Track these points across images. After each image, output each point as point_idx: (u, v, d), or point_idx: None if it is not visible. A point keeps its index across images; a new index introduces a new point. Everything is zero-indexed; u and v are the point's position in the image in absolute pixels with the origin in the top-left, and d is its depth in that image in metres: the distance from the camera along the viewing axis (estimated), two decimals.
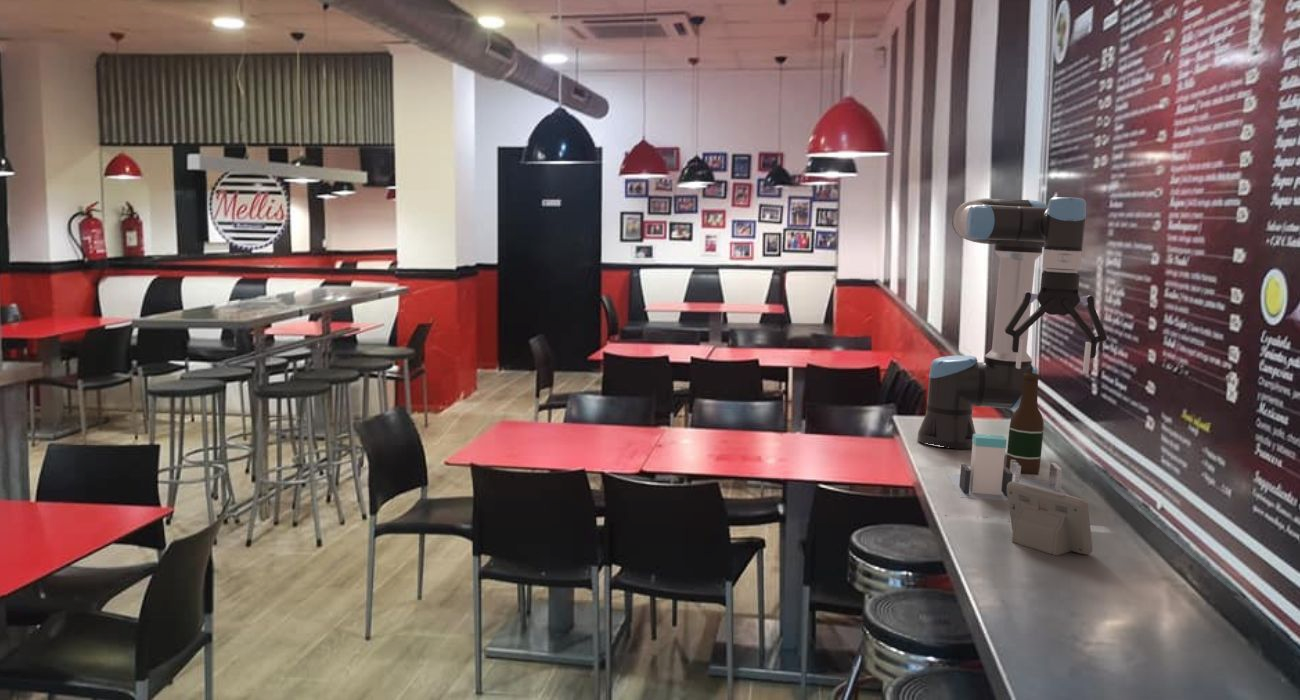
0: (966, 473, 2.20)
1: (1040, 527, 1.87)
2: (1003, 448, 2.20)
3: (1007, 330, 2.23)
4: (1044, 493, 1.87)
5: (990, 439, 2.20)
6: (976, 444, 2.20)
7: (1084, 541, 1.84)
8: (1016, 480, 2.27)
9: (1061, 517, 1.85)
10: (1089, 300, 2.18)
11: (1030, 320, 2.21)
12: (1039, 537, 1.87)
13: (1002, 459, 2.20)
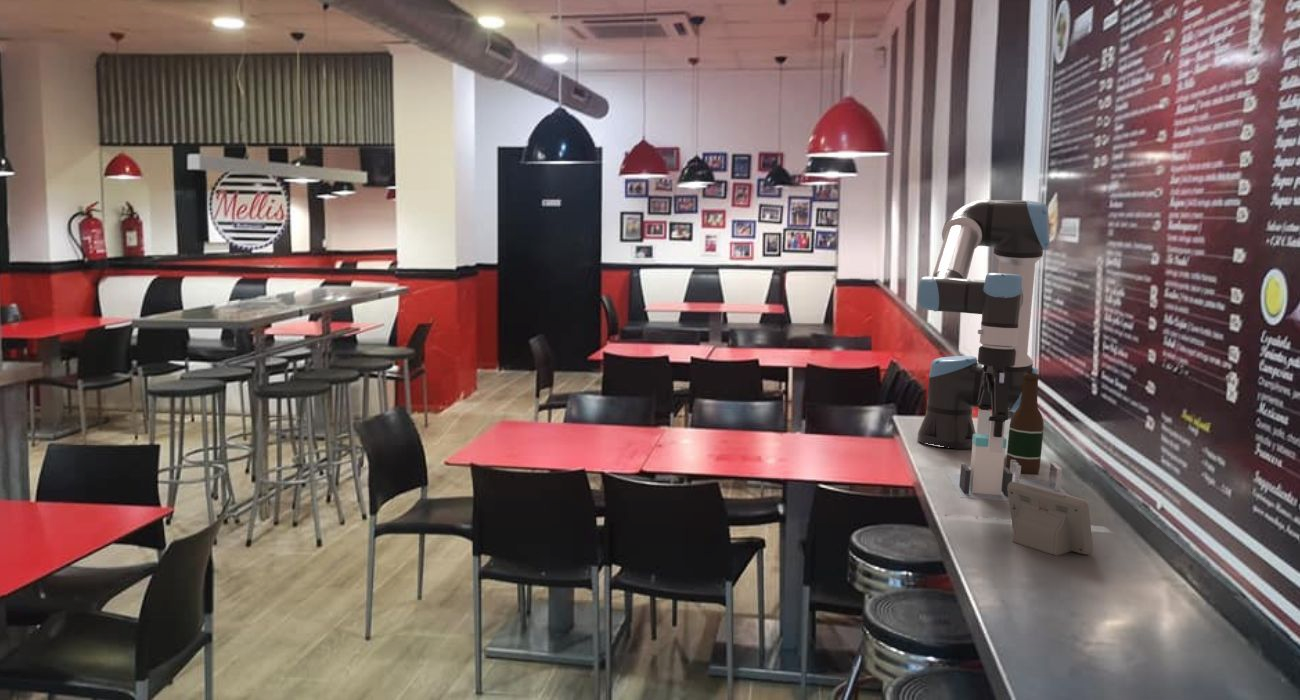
0: (966, 473, 2.20)
1: (1041, 527, 1.86)
2: (1003, 448, 2.20)
3: (977, 400, 2.31)
4: (1045, 493, 1.87)
5: None
6: (976, 444, 2.20)
7: (1085, 542, 1.84)
8: (1016, 480, 2.27)
9: (1062, 517, 1.85)
10: (994, 377, 2.14)
11: (982, 392, 2.26)
12: (1040, 537, 1.87)
13: (1002, 459, 2.20)
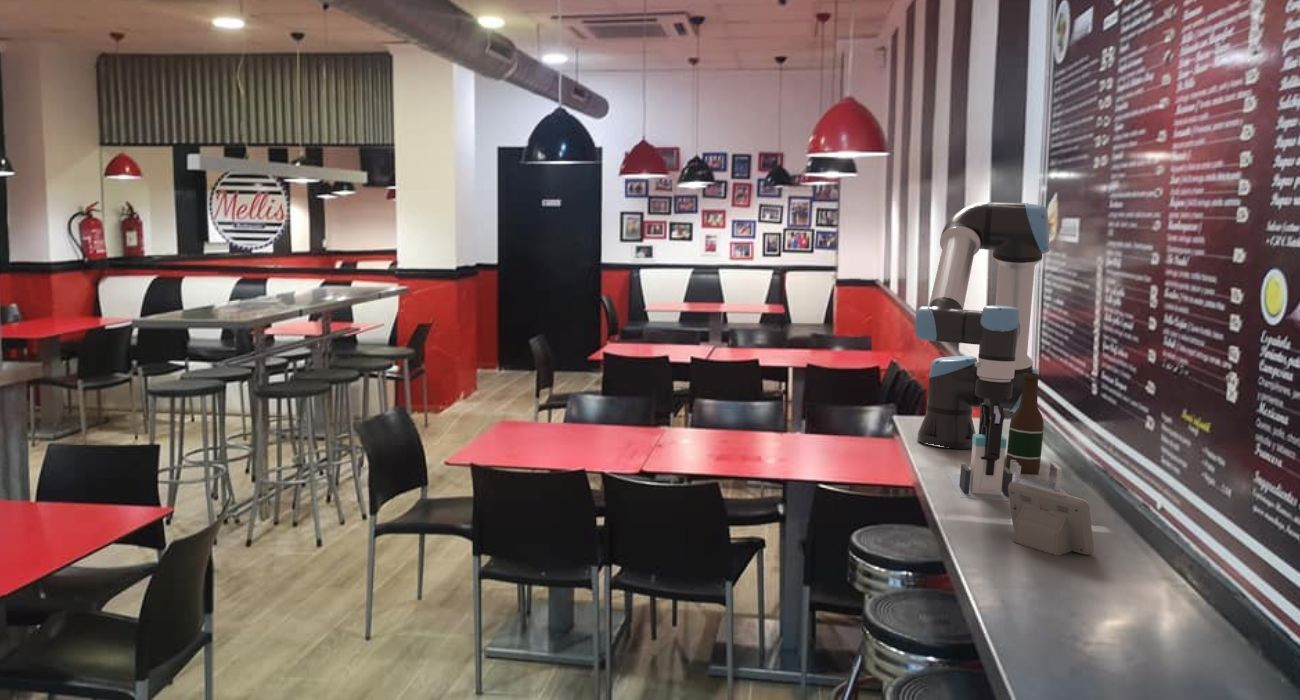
0: (966, 473, 2.20)
1: (1041, 527, 1.86)
2: (1003, 448, 2.20)
3: None
4: (1045, 493, 1.87)
5: None
6: (976, 444, 2.20)
7: (1085, 542, 1.84)
8: (1016, 480, 2.27)
9: (1062, 517, 1.85)
10: (990, 416, 2.16)
11: (981, 432, 2.25)
12: (1040, 537, 1.87)
13: (1002, 459, 2.20)
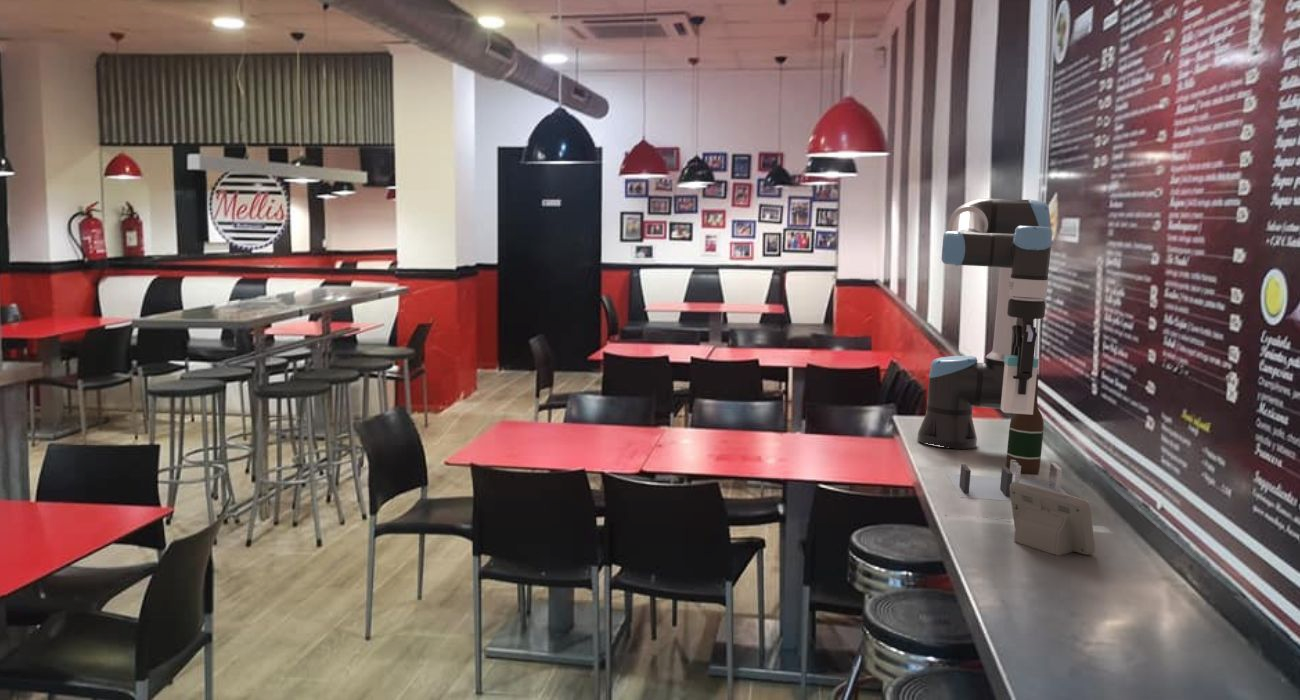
0: (966, 473, 2.20)
1: (1042, 527, 1.86)
2: (1035, 368, 2.21)
3: None
4: (1046, 493, 1.87)
5: None
6: (1008, 364, 2.22)
7: (1087, 542, 1.84)
8: (1016, 480, 2.27)
9: (1063, 517, 1.85)
10: (1023, 335, 2.17)
11: (1013, 353, 2.26)
12: (1041, 537, 1.87)
13: (1034, 379, 2.21)
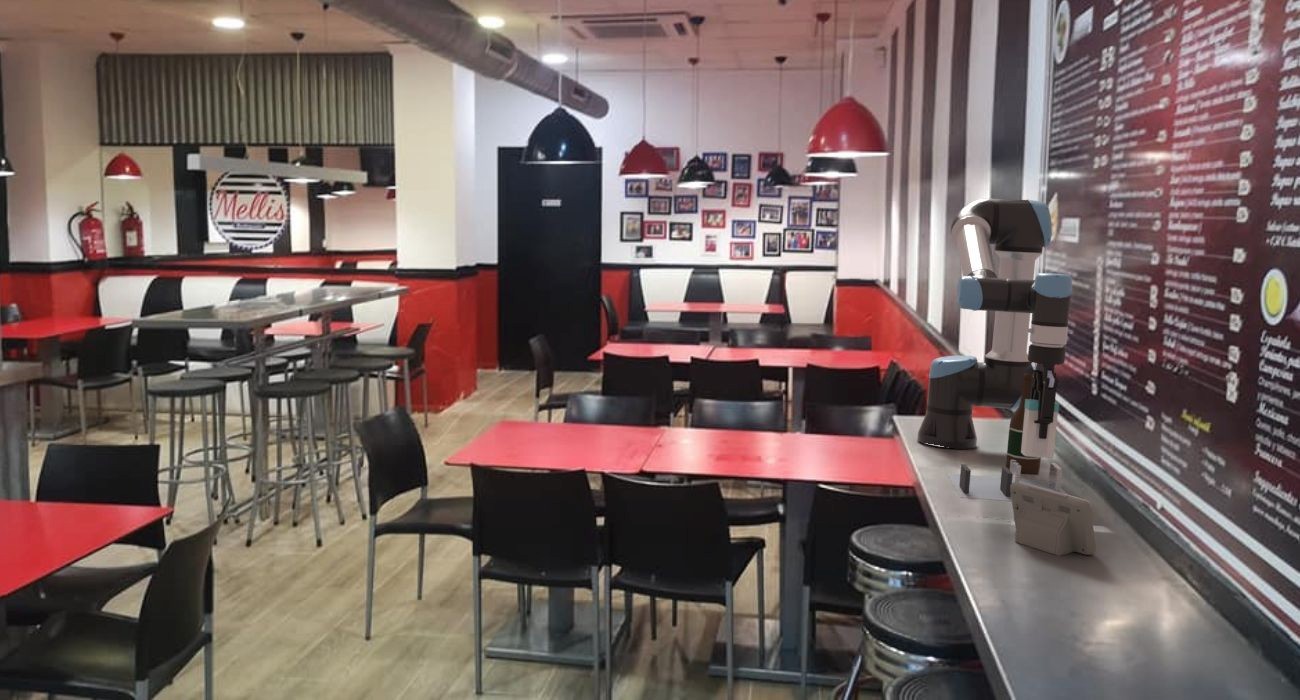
0: (966, 473, 2.20)
1: (1043, 527, 1.86)
2: (1056, 412, 2.25)
3: None
4: (1047, 493, 1.87)
5: None
6: (1029, 408, 2.26)
7: (1087, 542, 1.84)
8: (1016, 480, 2.27)
9: (1064, 517, 1.85)
10: (1044, 380, 2.21)
11: (1033, 397, 2.30)
12: (1042, 537, 1.87)
13: (1055, 423, 2.25)
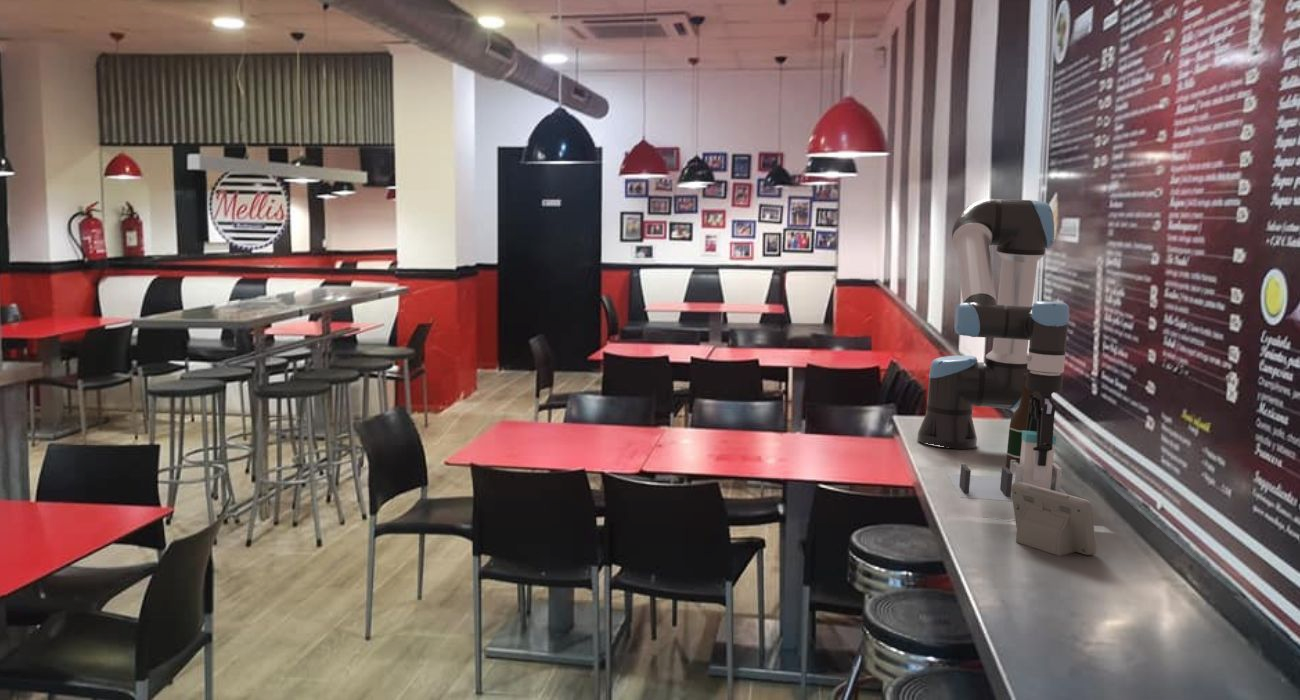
0: (966, 473, 2.20)
1: (1044, 527, 1.86)
2: (1053, 444, 2.26)
3: None
4: (1048, 493, 1.87)
5: None
6: (1026, 440, 2.27)
7: (1088, 542, 1.84)
8: (1016, 480, 2.27)
9: (1065, 518, 1.85)
10: None
11: (1030, 422, 2.32)
12: (1043, 537, 1.87)
13: (1052, 455, 2.26)
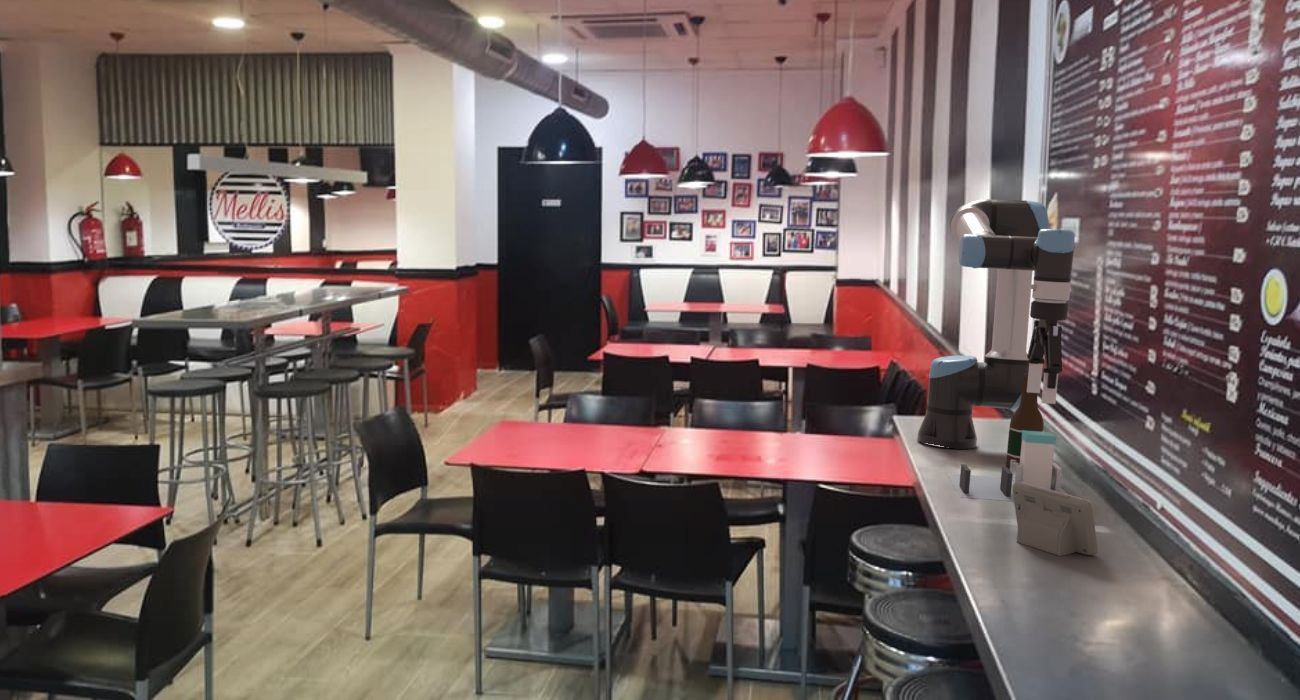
0: (966, 473, 2.20)
1: (1045, 527, 1.86)
2: (1053, 444, 2.26)
3: (1027, 355, 2.36)
4: (1049, 493, 1.87)
5: (1040, 435, 2.26)
6: (1026, 440, 2.27)
7: (1089, 542, 1.84)
8: (1016, 480, 2.27)
9: (1066, 518, 1.85)
10: (1048, 330, 2.20)
11: (1033, 346, 2.31)
12: (1044, 537, 1.87)
13: (1052, 455, 2.26)
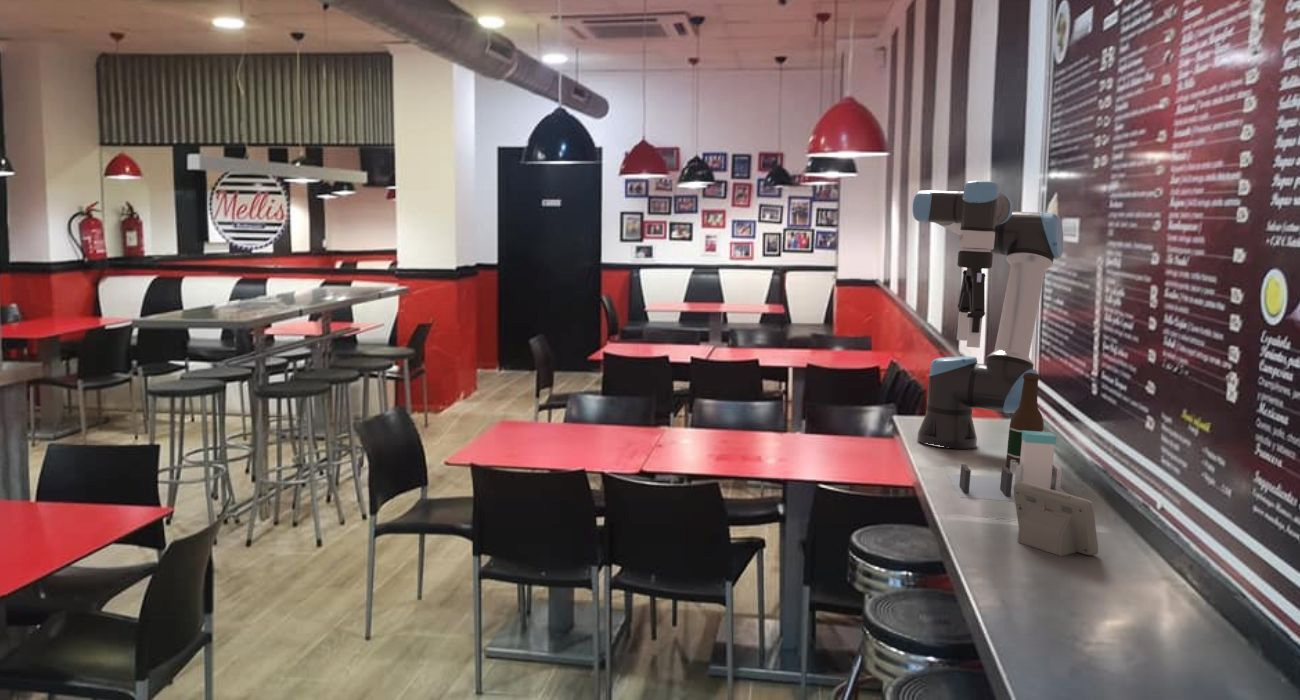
0: (966, 473, 2.20)
1: (1045, 527, 1.86)
2: (1053, 444, 2.26)
3: (958, 304, 2.46)
4: (1050, 494, 1.87)
5: (1040, 435, 2.26)
6: (1026, 440, 2.27)
7: (1090, 542, 1.84)
8: (1016, 480, 2.27)
9: (1067, 518, 1.85)
10: (972, 277, 2.30)
11: (962, 295, 2.42)
12: (1045, 537, 1.87)
13: (1052, 455, 2.26)
